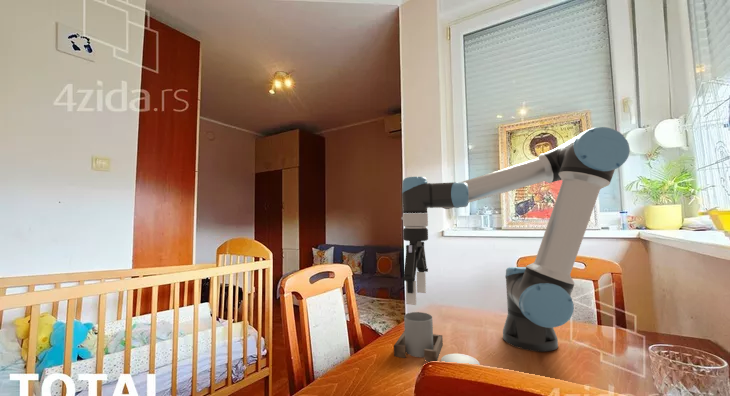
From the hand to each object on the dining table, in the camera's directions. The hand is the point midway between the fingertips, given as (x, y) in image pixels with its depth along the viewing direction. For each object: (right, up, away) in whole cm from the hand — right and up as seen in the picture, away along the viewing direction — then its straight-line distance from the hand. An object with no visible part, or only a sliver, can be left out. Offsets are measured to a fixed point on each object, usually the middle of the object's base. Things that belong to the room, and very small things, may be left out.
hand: (416, 298), depth 90 cm
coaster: (+10, -15, -9) cm, 20 cm away
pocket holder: (+1, -15, -1) cm, 15 cm away
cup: (+1, -16, -1) cm, 16 cm away
